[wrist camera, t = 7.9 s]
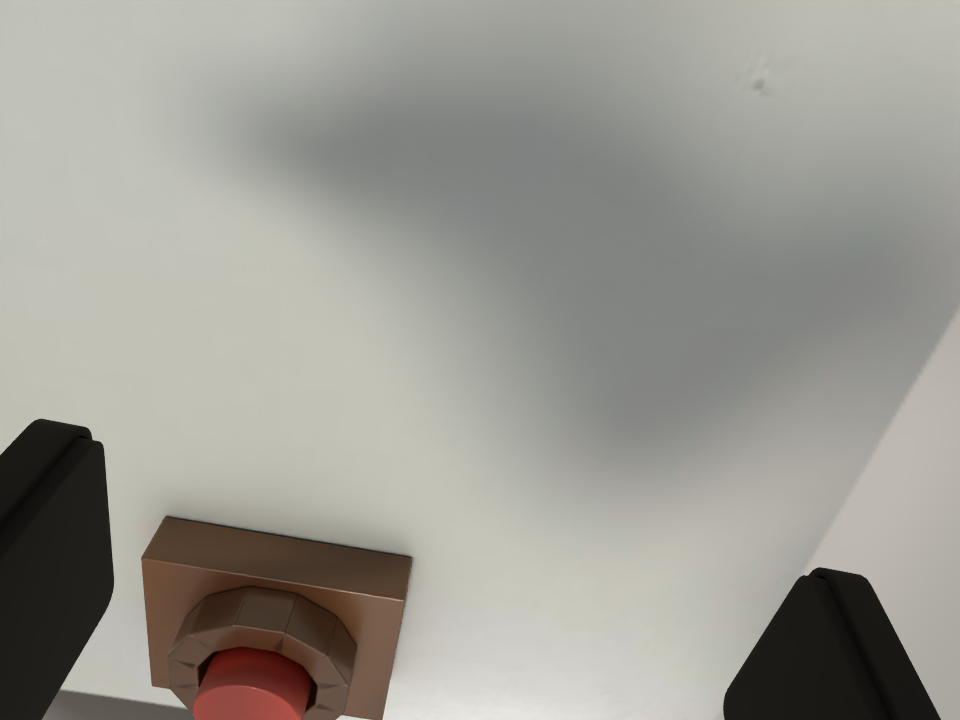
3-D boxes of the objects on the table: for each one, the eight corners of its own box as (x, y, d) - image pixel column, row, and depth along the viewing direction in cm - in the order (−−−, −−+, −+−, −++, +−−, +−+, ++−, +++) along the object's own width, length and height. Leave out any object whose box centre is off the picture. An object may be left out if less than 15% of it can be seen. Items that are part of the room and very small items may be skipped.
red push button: (315, 652, 28) (303, 694, 26) (308, 714, 30) (297, 757, 28) (208, 635, 27) (190, 677, 26) (209, 699, 30) (193, 741, 28)
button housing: (412, 557, 30) (399, 640, 26) (389, 677, 34) (375, 762, 31) (164, 516, 29) (117, 596, 26) (171, 643, 33) (132, 726, 30)
